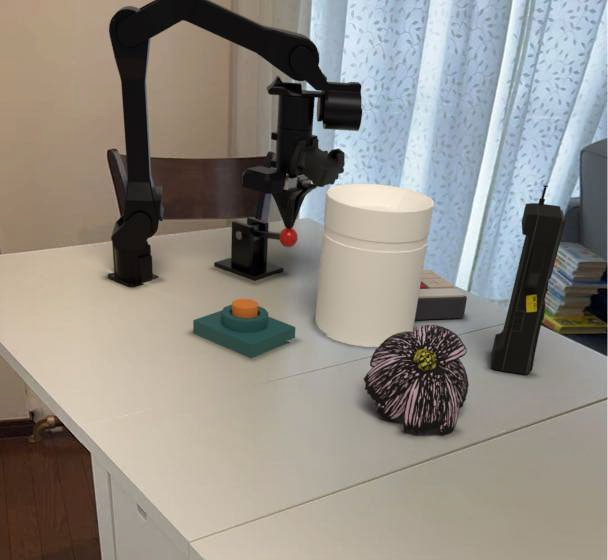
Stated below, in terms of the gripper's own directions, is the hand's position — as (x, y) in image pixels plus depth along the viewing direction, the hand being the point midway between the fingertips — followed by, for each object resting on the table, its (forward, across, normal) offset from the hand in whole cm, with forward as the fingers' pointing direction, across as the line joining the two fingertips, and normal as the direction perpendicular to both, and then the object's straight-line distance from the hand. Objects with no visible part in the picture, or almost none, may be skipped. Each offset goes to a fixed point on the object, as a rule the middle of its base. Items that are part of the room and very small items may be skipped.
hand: (289, 227), depth 137 cm
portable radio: (+10, 0, -45) cm, 46 cm away
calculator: (+10, +11, -21) cm, 26 cm away
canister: (+10, -5, -21) cm, 24 cm away
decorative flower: (+10, -24, -43) cm, 50 cm away
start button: (+6, -23, -11) cm, 26 cm away
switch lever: (+4, 0, +4) cm, 6 cm away
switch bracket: (+10, 0, +9) cm, 13 cm away
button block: (+10, -23, -11) cm, 27 cm away
